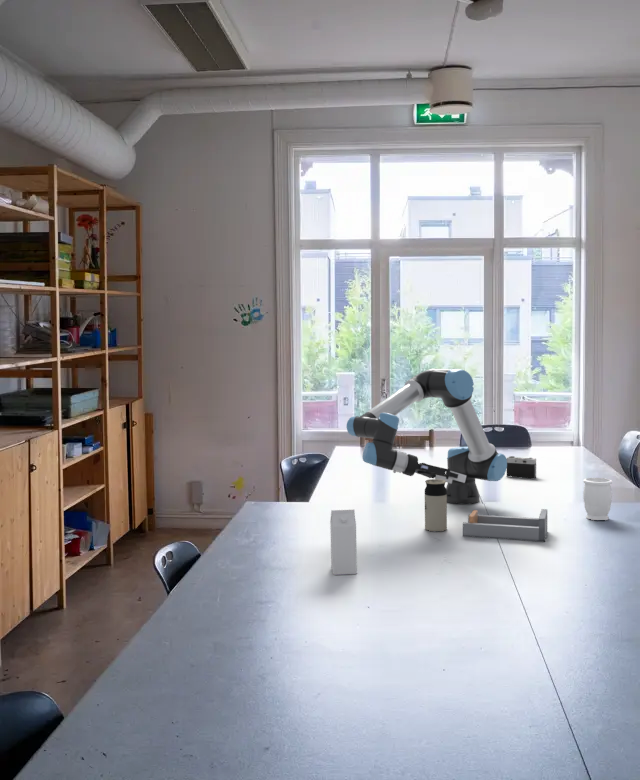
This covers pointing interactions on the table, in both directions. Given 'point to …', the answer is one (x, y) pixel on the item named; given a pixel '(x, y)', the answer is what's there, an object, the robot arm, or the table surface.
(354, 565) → the milk carton
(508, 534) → the grey open tray
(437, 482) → the travel mug
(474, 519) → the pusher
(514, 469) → the camera
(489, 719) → the table surface
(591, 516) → the jar
